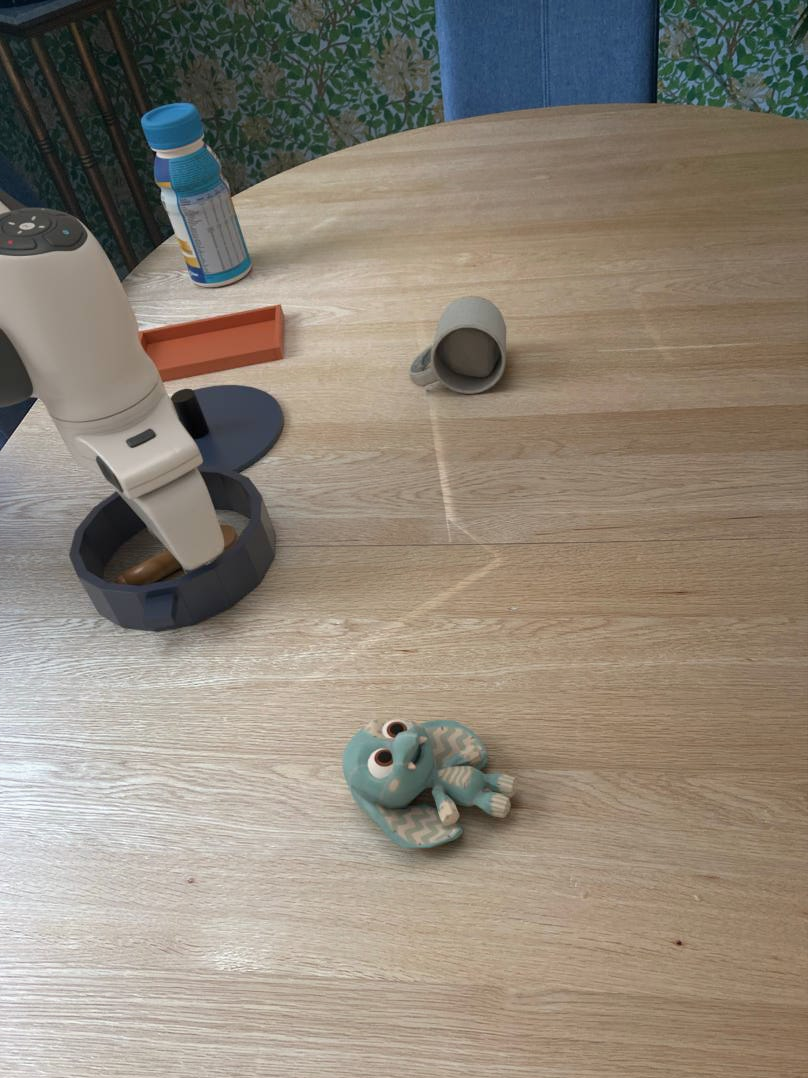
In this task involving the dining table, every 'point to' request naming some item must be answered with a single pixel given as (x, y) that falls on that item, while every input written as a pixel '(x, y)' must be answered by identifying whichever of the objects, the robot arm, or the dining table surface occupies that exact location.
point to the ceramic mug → (465, 348)
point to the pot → (186, 594)
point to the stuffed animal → (421, 778)
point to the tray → (216, 343)
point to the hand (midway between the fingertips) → (178, 552)
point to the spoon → (165, 563)
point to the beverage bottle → (196, 196)
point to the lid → (230, 423)
